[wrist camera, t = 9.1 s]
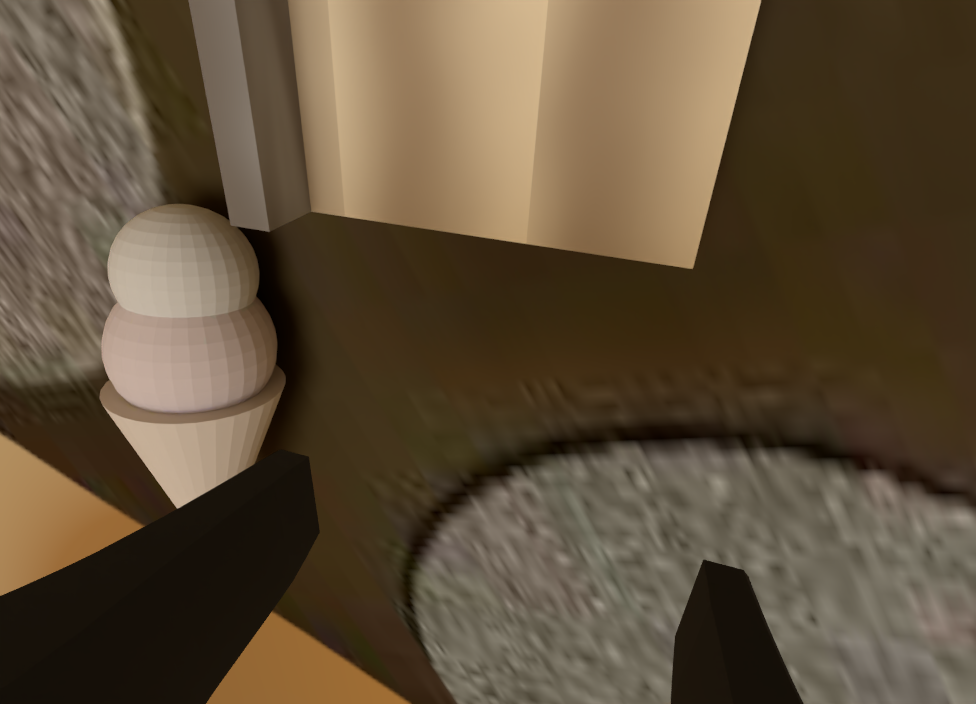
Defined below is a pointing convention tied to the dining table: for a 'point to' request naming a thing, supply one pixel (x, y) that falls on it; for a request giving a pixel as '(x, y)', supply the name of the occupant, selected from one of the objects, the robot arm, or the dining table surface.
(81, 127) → the dining table surface
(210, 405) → the ice cream cone
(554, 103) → the jig
